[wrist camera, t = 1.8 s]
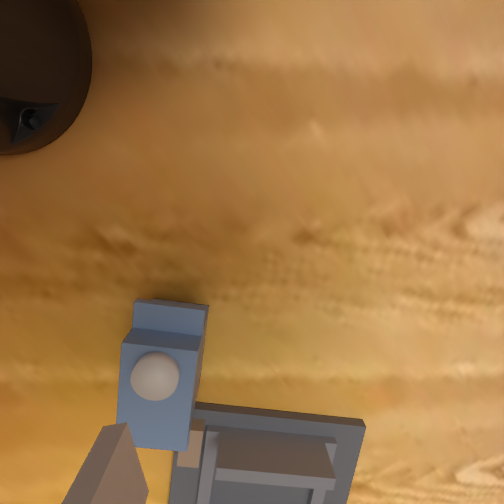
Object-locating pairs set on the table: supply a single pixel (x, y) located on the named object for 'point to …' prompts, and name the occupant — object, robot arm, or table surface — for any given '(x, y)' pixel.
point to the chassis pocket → (265, 457)
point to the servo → (161, 372)
